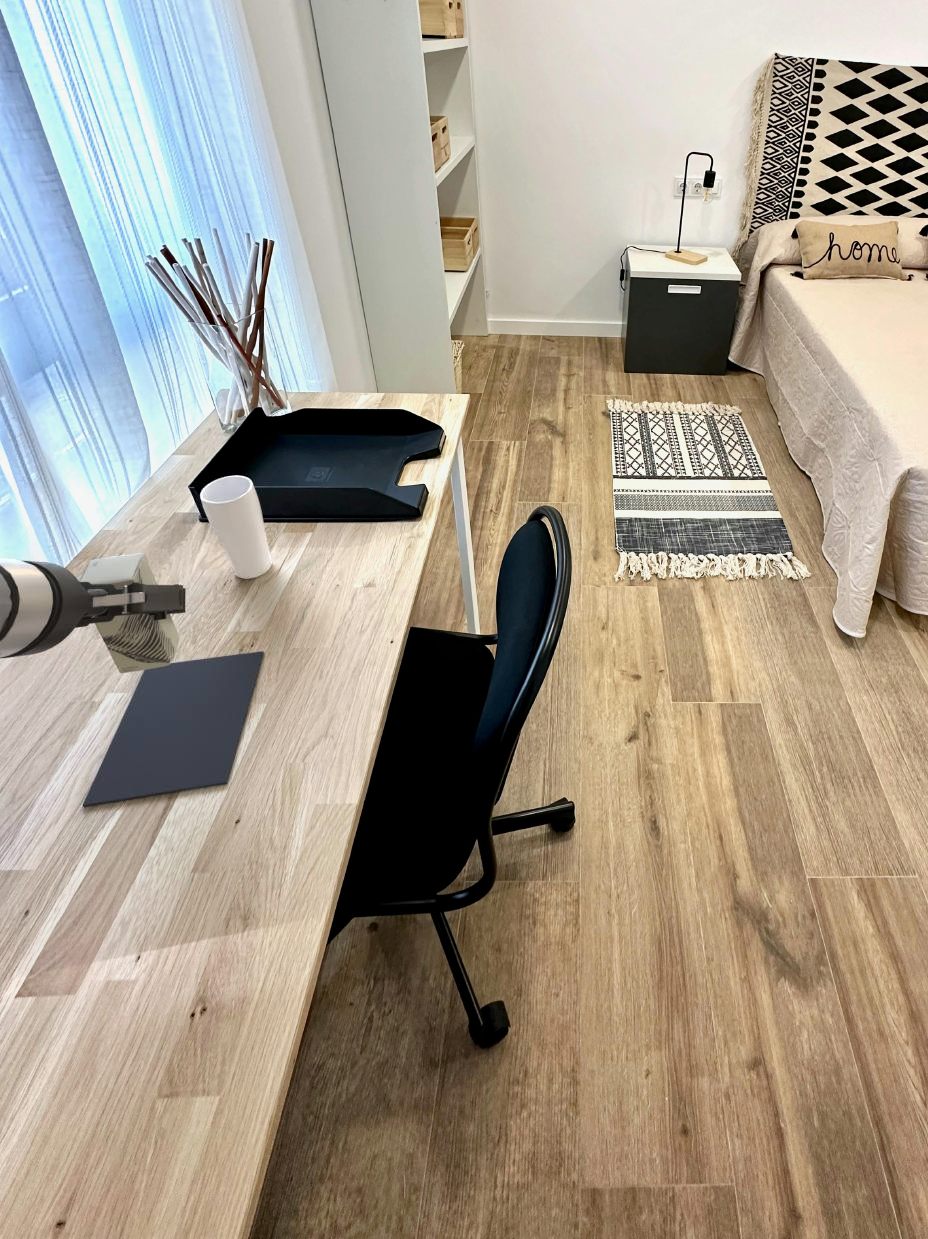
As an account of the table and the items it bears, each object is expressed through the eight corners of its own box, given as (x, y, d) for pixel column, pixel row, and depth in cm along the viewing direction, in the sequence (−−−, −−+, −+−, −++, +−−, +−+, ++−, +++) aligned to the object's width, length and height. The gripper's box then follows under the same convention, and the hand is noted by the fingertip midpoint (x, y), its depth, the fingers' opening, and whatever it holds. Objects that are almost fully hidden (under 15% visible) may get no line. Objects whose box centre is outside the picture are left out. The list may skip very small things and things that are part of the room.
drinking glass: (255, 589, 96) (227, 508, 88) (218, 577, 98) (187, 497, 89) (288, 559, 101) (264, 480, 93) (252, 548, 103) (226, 470, 95)
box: (119, 676, 70) (70, 589, 63) (131, 644, 74) (86, 558, 67) (174, 665, 71) (132, 579, 64) (184, 635, 75) (144, 549, 68)
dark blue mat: (83, 807, 69) (82, 805, 69) (147, 668, 84) (145, 666, 84) (227, 784, 72) (226, 782, 71) (264, 652, 86) (263, 651, 86)
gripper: (-142, 676, 49) (58, 650, 71) (133, 642, 52) (241, 627, 74) (-131, 574, 50) (61, 580, 72) (135, 547, 53) (240, 560, 76)
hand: (151, 604), depth 73 cm, fingers closed on box, 5 cm apart
